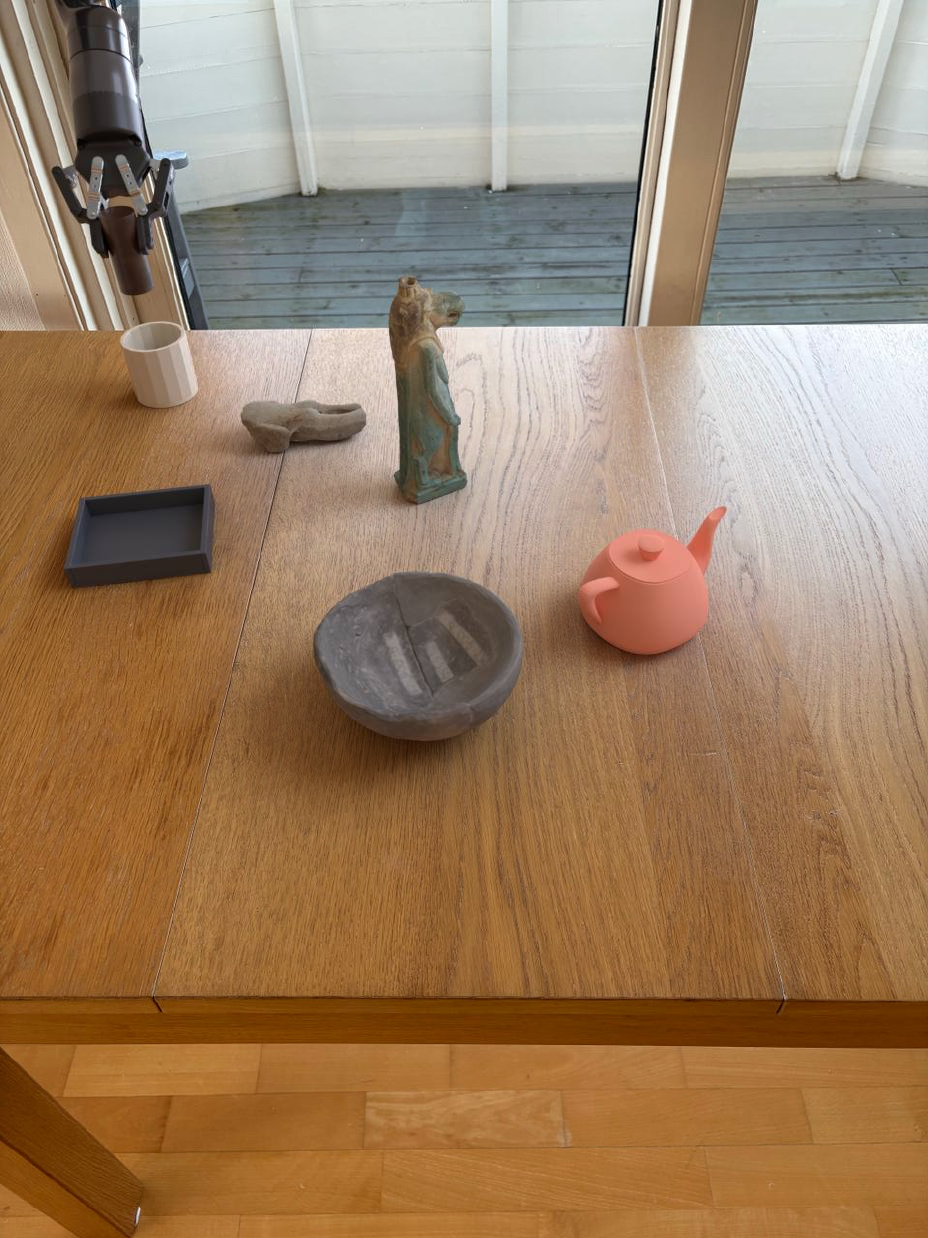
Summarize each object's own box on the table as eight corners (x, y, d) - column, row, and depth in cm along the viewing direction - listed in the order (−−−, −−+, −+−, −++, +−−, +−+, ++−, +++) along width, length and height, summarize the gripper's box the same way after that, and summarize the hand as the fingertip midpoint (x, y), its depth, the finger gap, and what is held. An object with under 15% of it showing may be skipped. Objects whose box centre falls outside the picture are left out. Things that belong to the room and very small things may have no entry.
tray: (71, 588, 98) (63, 569, 96) (87, 516, 107) (80, 497, 105) (211, 572, 99) (205, 552, 97) (215, 502, 108) (210, 483, 106)
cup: (134, 410, 123) (116, 354, 117) (139, 379, 128) (123, 324, 123) (196, 404, 123) (182, 348, 118) (199, 373, 129) (186, 318, 123)
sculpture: (363, 418, 121) (243, 423, 119) (362, 386, 118) (239, 390, 116) (368, 452, 117) (243, 458, 114) (368, 420, 113) (239, 425, 111)
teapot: (536, 615, 93) (540, 541, 87) (671, 546, 101) (683, 472, 94) (618, 690, 86) (629, 615, 80) (757, 610, 93) (777, 535, 87)
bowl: (560, 723, 84) (564, 661, 78) (380, 809, 78) (371, 748, 72) (459, 604, 95) (457, 542, 89) (296, 670, 89) (282, 608, 83)
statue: (479, 485, 109) (476, 275, 92) (419, 512, 106) (403, 299, 88) (446, 458, 113) (437, 251, 96) (386, 483, 110) (366, 274, 93)
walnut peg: (118, 297, 112) (96, 220, 106) (122, 282, 115) (100, 206, 109) (153, 293, 113) (132, 217, 106) (155, 279, 116) (136, 203, 109)
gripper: (30, 92, 105) (49, 246, 105) (161, 83, 106) (180, 235, 106) (54, 128, 112) (71, 272, 112) (176, 119, 114) (193, 261, 113)
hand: (124, 253), depth 109 cm, fingers closed on walnut peg, 4 cm apart
